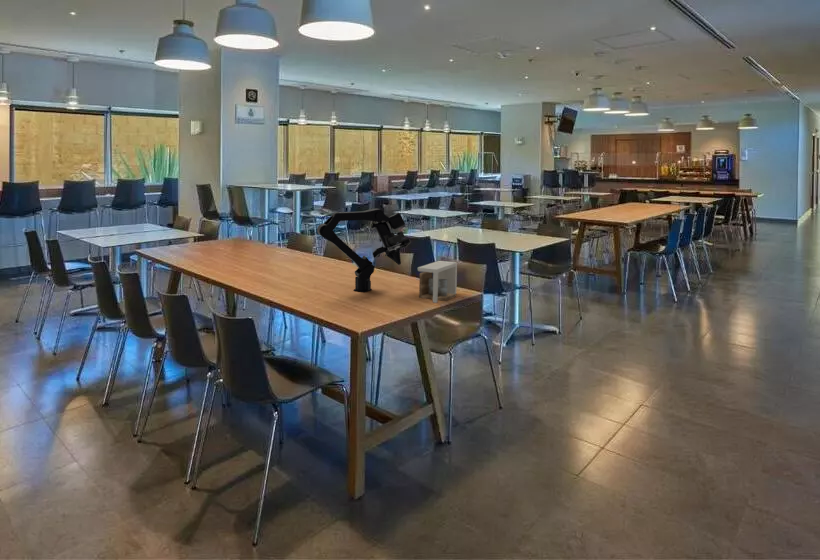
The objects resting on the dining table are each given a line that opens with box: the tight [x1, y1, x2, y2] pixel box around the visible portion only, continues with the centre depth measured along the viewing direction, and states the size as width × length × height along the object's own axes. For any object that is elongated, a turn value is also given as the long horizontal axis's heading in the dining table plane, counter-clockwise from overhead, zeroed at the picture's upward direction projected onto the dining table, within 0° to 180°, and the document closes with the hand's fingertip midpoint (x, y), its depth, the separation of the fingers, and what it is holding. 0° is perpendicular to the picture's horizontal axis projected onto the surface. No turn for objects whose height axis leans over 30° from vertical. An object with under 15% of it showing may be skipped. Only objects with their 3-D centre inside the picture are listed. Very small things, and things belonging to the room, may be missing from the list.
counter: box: [417, 260, 458, 304], centre depth 267 cm, size 9×21×14 cm, turn 152°
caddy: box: [418, 271, 456, 302], centre depth 267 cm, size 13×10×11 cm
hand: (399, 264), depth 276 cm, fingers closed
